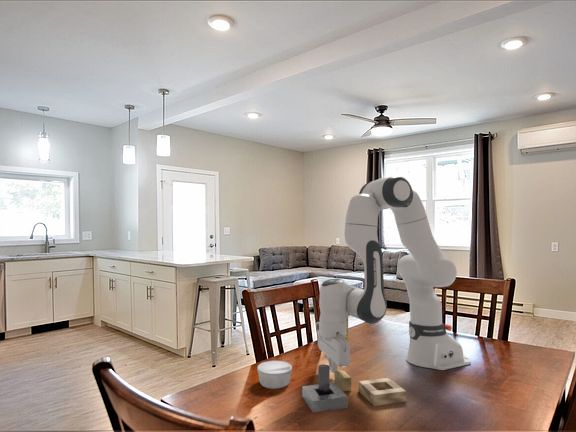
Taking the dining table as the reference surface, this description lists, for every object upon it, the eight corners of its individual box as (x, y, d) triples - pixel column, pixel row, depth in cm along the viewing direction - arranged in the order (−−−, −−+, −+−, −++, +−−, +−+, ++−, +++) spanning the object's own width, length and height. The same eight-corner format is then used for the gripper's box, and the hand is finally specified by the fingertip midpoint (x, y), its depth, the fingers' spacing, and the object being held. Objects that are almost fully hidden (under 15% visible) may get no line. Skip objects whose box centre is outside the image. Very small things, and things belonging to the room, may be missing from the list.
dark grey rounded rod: (327, 399, 113) (327, 364, 113) (331, 403, 109) (331, 367, 110) (317, 400, 112) (316, 365, 112) (320, 405, 109) (320, 368, 109)
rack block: (388, 387, 120) (388, 377, 120) (406, 401, 111) (406, 390, 111) (358, 391, 118) (358, 381, 118) (374, 405, 108) (374, 395, 108)
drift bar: (343, 382, 124) (343, 370, 124) (351, 390, 118) (351, 377, 118) (334, 384, 123) (334, 371, 123) (341, 391, 117) (341, 378, 117)
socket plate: (334, 392, 117) (334, 382, 117) (347, 407, 107) (347, 396, 107) (302, 396, 114) (302, 386, 114) (313, 412, 104) (312, 401, 105)
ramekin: (279, 393, 117) (279, 375, 117) (249, 385, 123) (249, 368, 123) (298, 380, 126) (298, 364, 126) (270, 374, 132) (270, 358, 132)
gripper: (355, 336, 119) (355, 382, 119) (330, 321, 139) (331, 360, 139) (335, 338, 118) (336, 384, 117) (314, 322, 137) (314, 361, 137)
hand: (333, 371), depth 128 cm, fingers closed
